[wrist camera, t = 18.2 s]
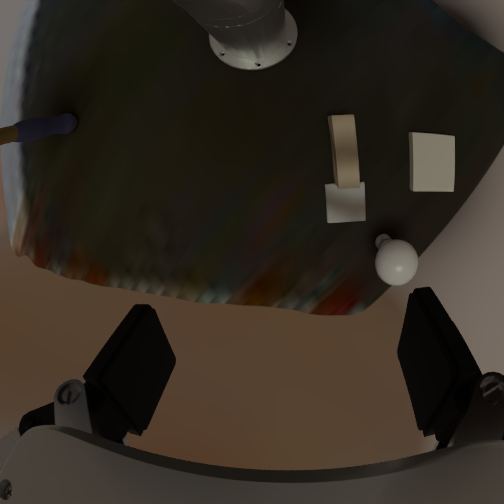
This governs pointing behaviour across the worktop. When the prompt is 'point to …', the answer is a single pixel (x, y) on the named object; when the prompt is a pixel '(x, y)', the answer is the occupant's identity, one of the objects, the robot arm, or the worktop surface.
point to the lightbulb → (395, 260)
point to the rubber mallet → (37, 128)
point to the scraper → (344, 173)
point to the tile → (431, 162)
